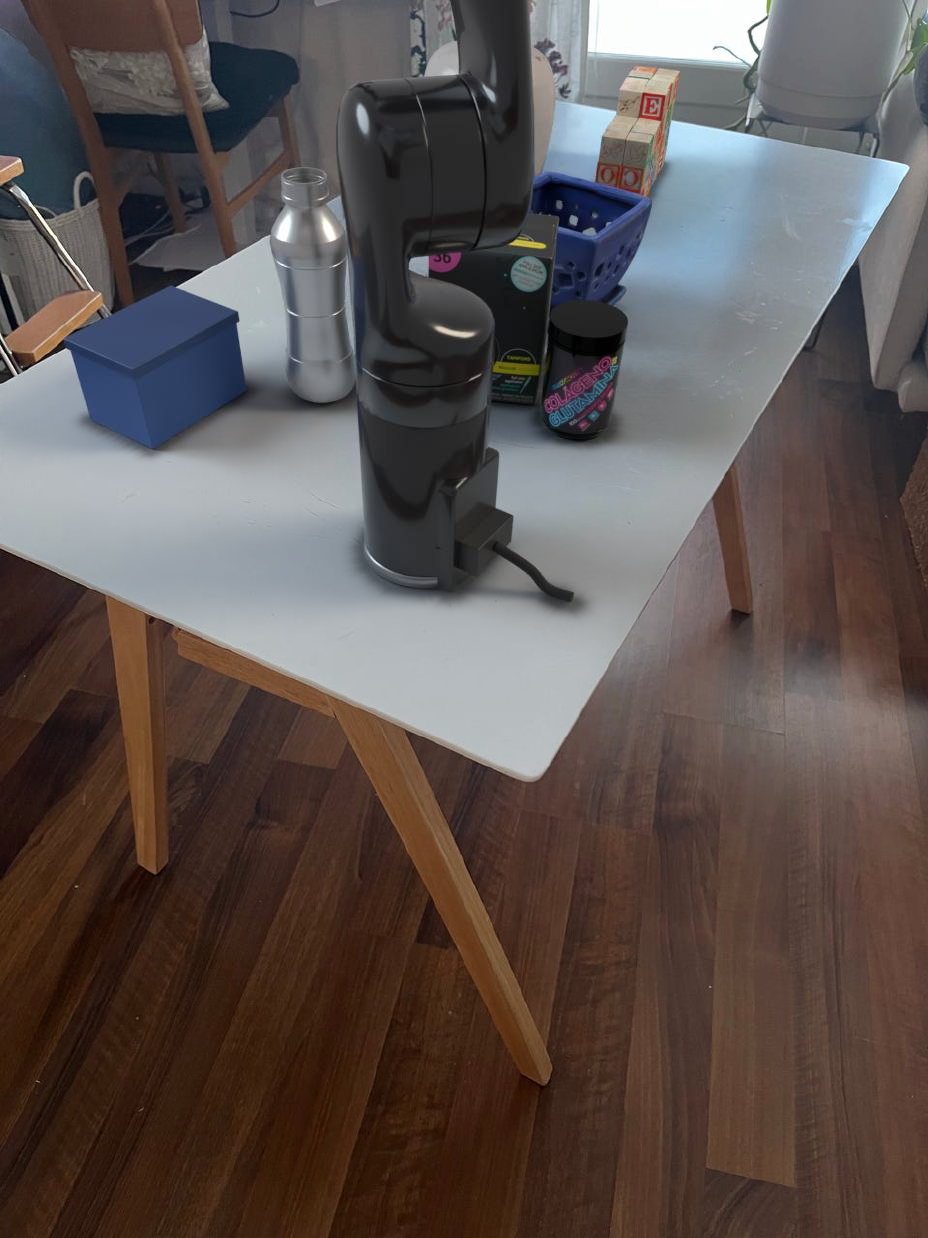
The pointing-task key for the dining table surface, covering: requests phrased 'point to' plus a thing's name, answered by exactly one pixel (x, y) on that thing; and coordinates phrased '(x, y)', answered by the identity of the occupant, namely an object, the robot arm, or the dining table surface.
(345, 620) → the dining table surface
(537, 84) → the vase
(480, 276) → the tampon box
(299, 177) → the silver water bottle
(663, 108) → the stack of blocks
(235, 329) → the blue box
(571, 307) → the supplement container
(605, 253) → the flower pot
